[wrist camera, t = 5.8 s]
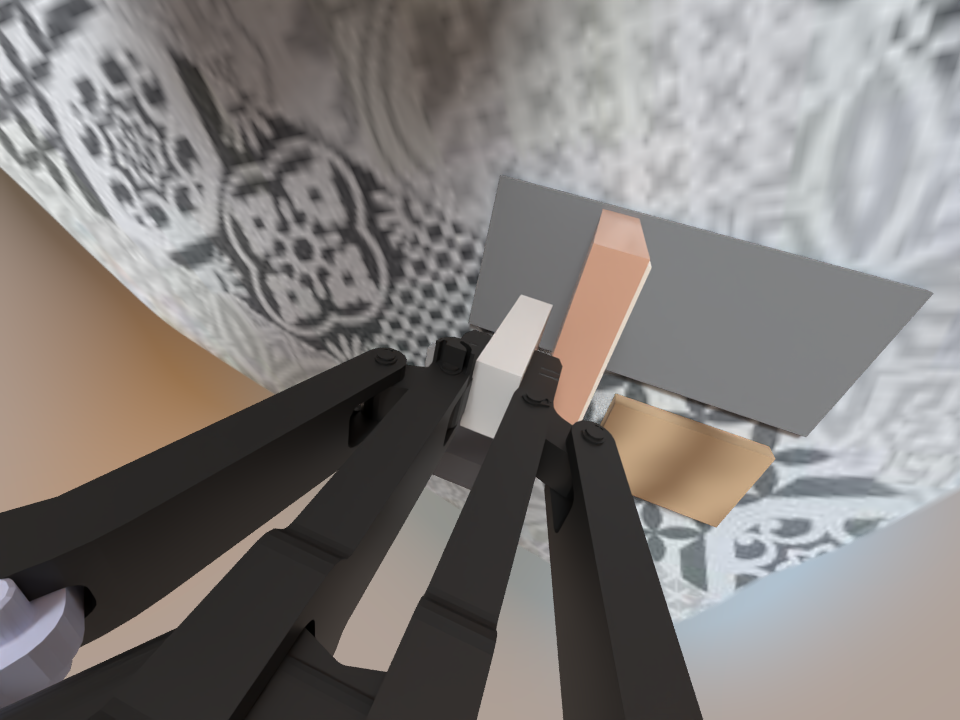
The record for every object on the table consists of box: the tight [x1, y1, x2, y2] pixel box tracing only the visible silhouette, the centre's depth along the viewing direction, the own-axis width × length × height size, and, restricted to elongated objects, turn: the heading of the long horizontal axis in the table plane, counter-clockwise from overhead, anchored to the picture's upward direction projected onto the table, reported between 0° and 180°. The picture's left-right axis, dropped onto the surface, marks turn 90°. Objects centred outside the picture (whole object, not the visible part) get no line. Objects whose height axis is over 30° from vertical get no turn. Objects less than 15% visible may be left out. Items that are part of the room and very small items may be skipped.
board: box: [600, 394, 775, 527], centre depth 27 cm, size 10×7×1 cm
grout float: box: [425, 342, 493, 490], centre depth 26 cm, size 9×5×8 cm, turn 78°
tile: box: [551, 209, 652, 425], centre depth 20 cm, size 2×9×9 cm, turn 168°
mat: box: [469, 175, 933, 437], centre depth 23 cm, size 22×10×1 cm, turn 78°
